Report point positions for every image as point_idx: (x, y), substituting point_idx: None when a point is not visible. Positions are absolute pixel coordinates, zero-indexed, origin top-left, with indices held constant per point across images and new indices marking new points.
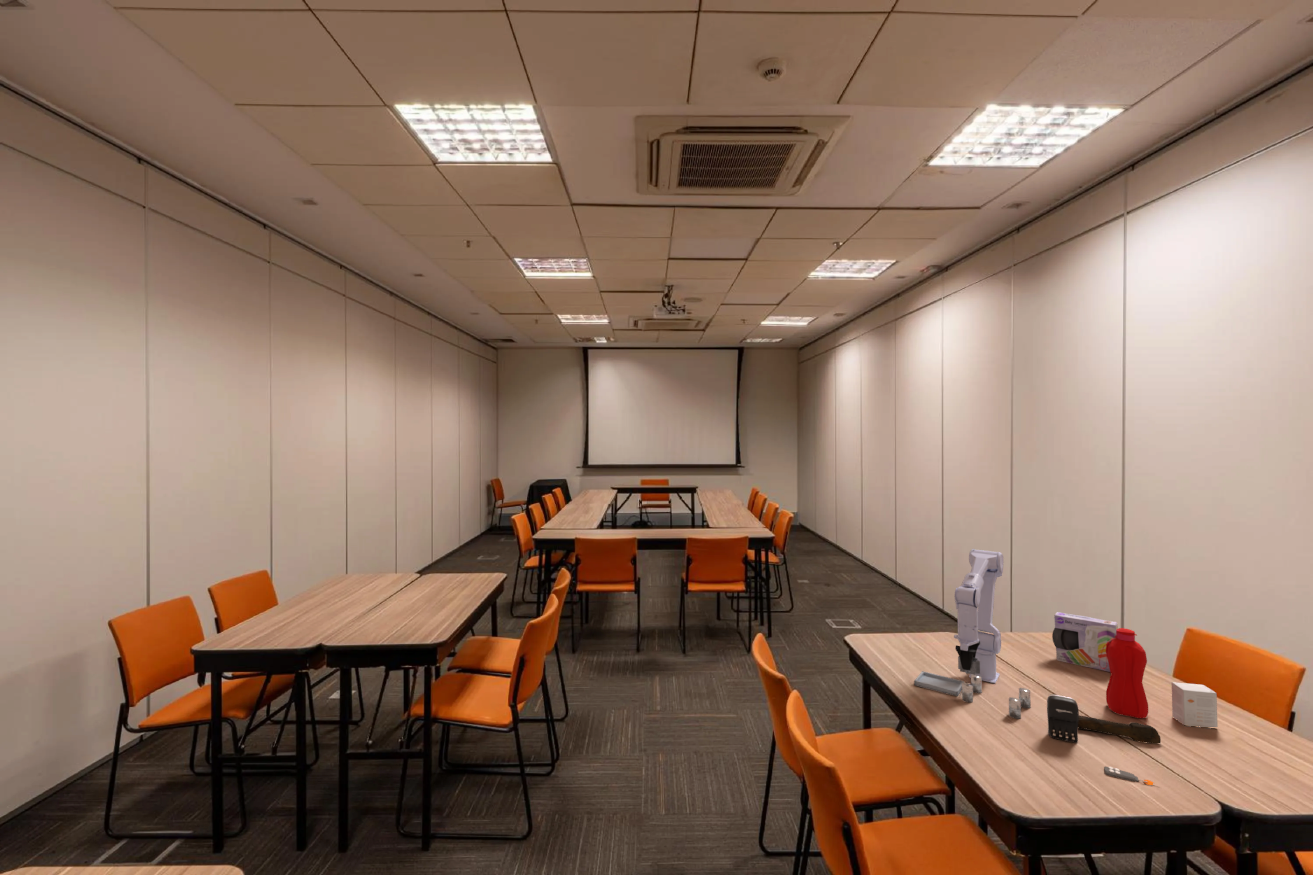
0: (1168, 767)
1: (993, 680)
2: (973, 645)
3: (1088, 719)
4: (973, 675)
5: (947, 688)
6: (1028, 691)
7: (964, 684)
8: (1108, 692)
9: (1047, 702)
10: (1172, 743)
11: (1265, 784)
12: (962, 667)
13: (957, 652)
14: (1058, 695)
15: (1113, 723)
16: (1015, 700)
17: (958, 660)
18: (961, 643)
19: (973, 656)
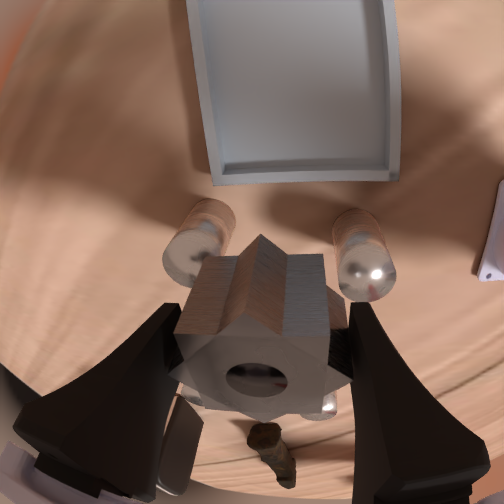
0: (217, 463)
1: (492, 272)
2: (356, 491)
3: (261, 455)
4: (370, 266)
5: (263, 112)
6: (312, 418)
7: (180, 252)
8: None
9: None
10: (307, 473)
11: (257, 489)
12: (158, 310)
13: (49, 393)
14: (161, 488)
15: (274, 469)
16: (194, 397)
17: (246, 283)
18: (19, 494)
19: (354, 391)
